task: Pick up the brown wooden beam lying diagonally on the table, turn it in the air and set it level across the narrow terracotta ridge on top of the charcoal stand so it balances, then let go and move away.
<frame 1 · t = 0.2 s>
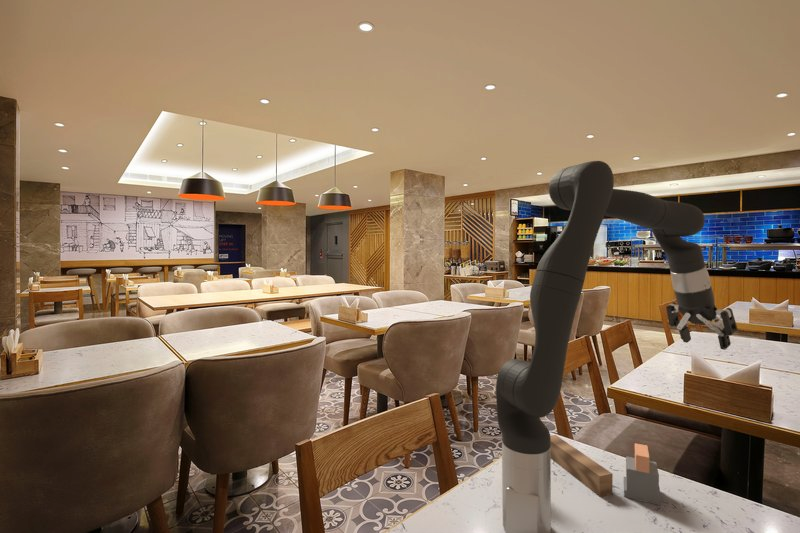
hand: (705, 344, 100), 31 cm above the table, tool tilted 20°, fingers open, 8 cm apart
brown wooden beam: (575, 473, 99), on the table
sprinkles bottle: (511, 484, 95), on the table
balance stand: (641, 493, 90), on the table
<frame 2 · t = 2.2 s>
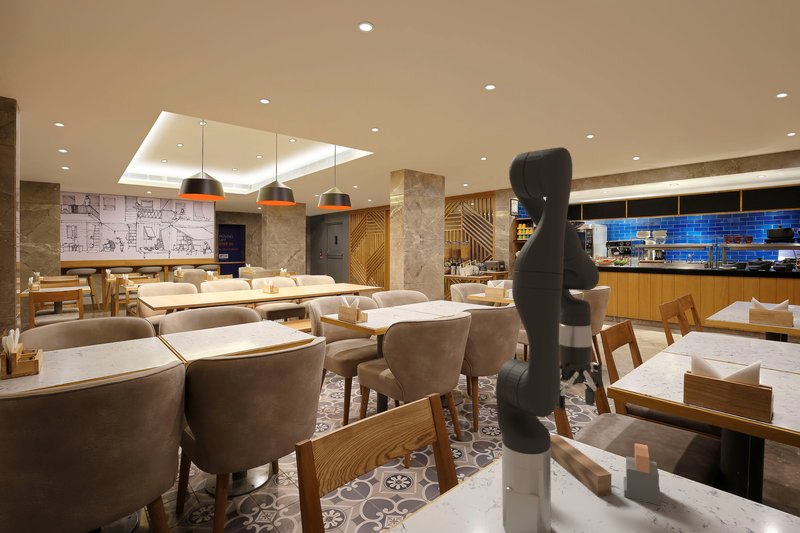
hand: (575, 407, 99), 16 cm above the table, tool pointing down, fingers open, 8 cm apart
nothing on the table moved.
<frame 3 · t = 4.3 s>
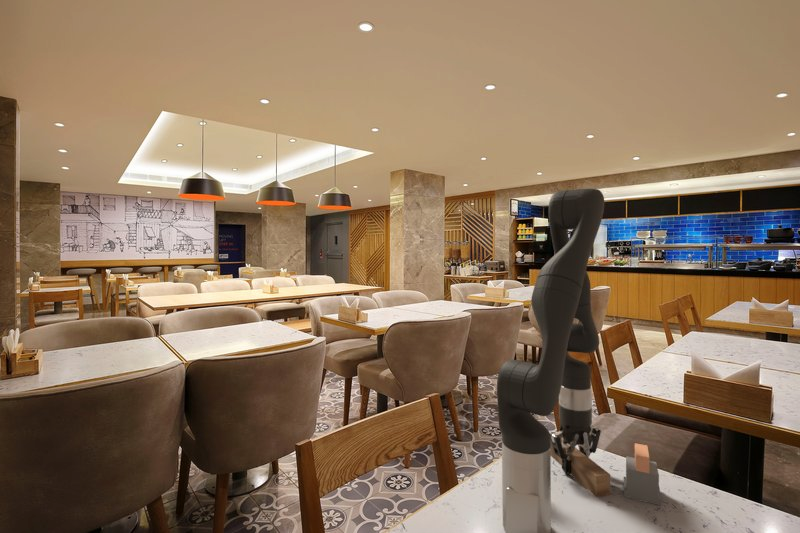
hand: (575, 470, 99), 0 cm above the table, tool pointing down, fingers open, 4 cm apart
brown wooden beam: (575, 473, 99), on the table, touching gripper
everything else where it was.
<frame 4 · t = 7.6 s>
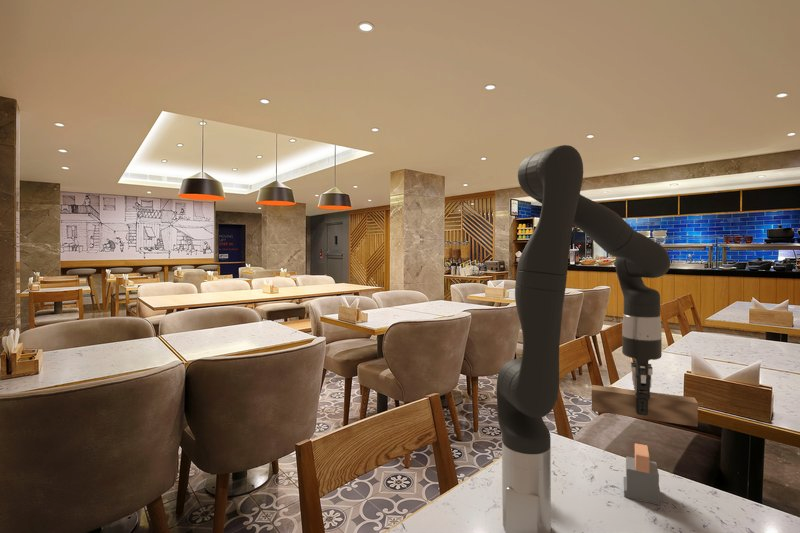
hand: (641, 410, 89), 19 cm above the table, tool pointing down, fingers closed on brown wooden beam, 3 cm apart
brown wooden beam: (641, 415, 89), point 18 cm above the table, touching gripper
everything else where it was.
when the fingers open (11 cm above the table, at t = 10.4 s): brown wooden beam stays where it is, resting on balance stand.
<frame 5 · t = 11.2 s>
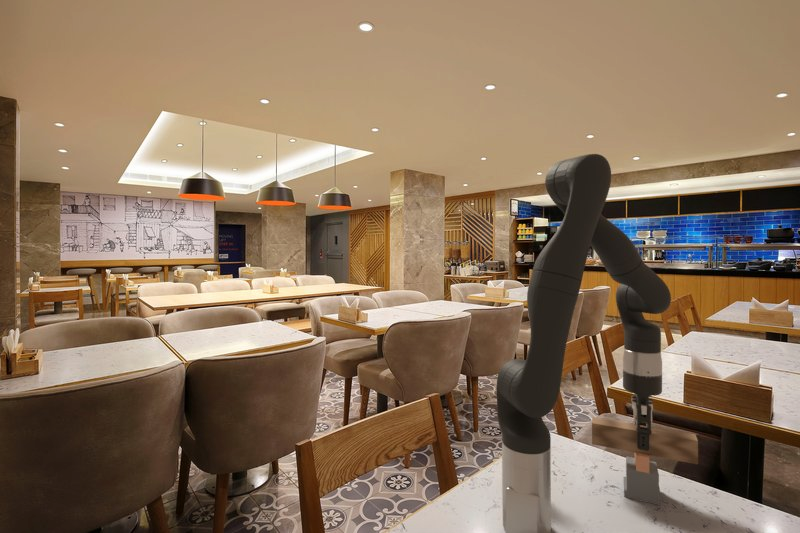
hand: (641, 441, 90), 12 cm above the table, tool pointing down, fingers open, 8 cm apart
brown wooden beam: (641, 450, 90), point 10 cm above the table, touching balance stand
everything else where it was.
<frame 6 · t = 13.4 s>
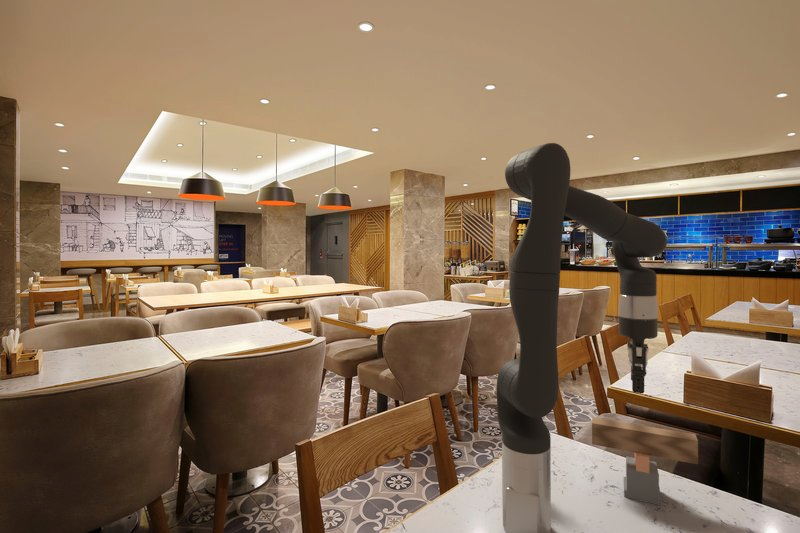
hand: (637, 386, 90), 24 cm above the table, tool pointing down, fingers open, 8 cm apart
nothing on the table moved.
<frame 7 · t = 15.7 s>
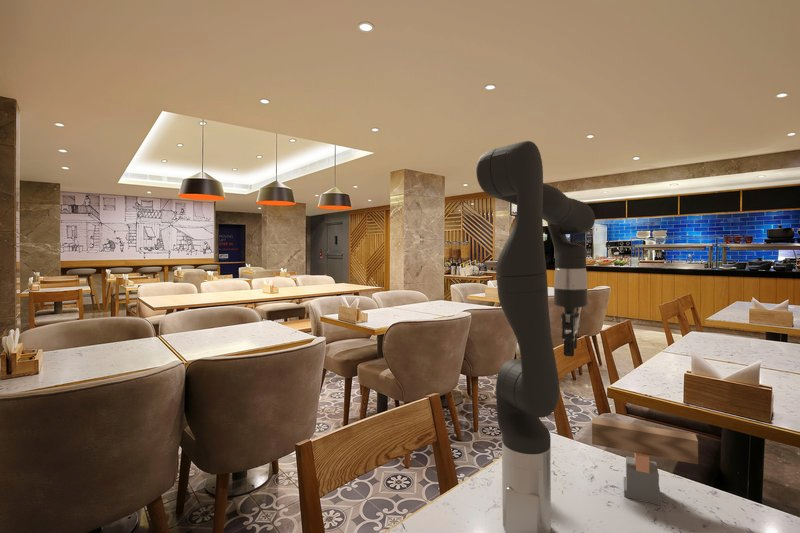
hand: (570, 351, 99), 30 cm above the table, tool pointing down, fingers open, 8 cm apart
nothing on the table moved.
at the end: brown wooden beam 0.1 cm off-centre on the balance stand, point 10.0 cm above the balance stand's base; brown wooden beam tilted 0°; brown wooden beam touching balance stand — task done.
